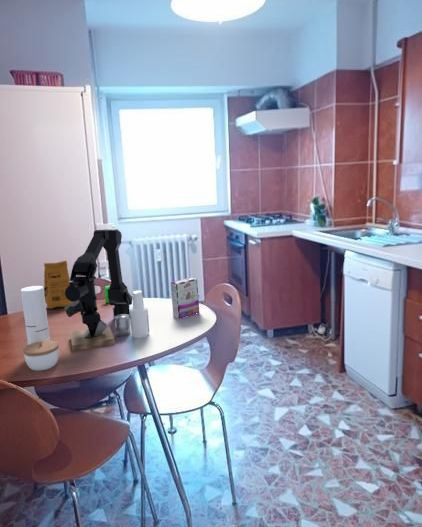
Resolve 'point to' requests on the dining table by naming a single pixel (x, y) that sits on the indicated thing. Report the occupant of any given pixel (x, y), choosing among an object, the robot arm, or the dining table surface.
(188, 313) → the candy bar box
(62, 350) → the dining table surface
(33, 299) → the cylindrical container
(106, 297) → the mechanical part
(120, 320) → the clear glass jar
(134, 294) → the spray bottle
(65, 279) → the coffee package
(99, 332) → the square bit
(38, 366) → the lidded jar
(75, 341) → the bore block
